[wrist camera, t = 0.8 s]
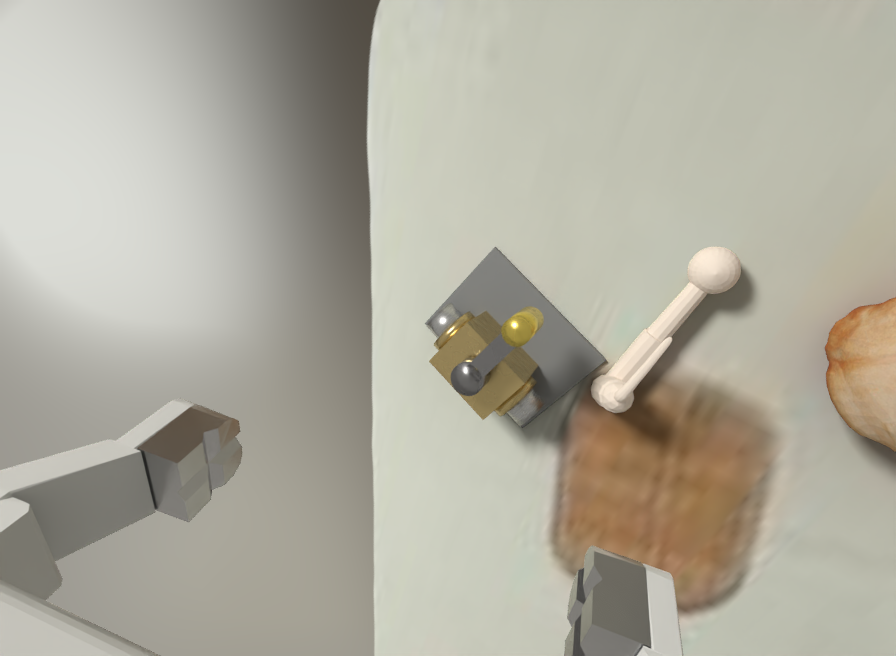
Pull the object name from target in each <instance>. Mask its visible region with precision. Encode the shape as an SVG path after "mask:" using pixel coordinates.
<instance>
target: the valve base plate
mask: <svg viewBox="0 0 896 656" xmlns="http://www.w3.org/2000/svg"><path fill="white" fill-rule="evenodd" d="M449 303H452V304H453V305H454V306H455V307H456V308H457V309H458V310H459V311H460V312H461V313H462V314H463V315H464V314H465V313H467V312H468V311H470V312H471V313H472V314H473V315H474V316H475V317H477V316H478V315H480V314H482V313H483V312H485V311H487V312H488V313H489V314H490V315H491V316H492V317H493V318H494V319H495V320H496V321H497V322H498V323H499V324H500V325H501V326H503V324H504V323H505V321H507V320H508V319H509V318H511V317H512V316H513V315H515V314H516V313H517V312H519V311H520V310H521V309H523V308H525V307H528V306H531V307H535V308H537V309H539V310H540V311H541V313H542V315H543V318H544V322H543V326H542V327H541V329H540V330H539V331H538V332H537V333H536V334H535V335H534V336H533V337H532V338H531V339H530V340H529V341H528V342H527V343H526V344H525V345H523V346H521V347H522V348H523V349H524V351H525V352H526V353H527V354H528V355H529V356H530V357H531V358H532V359H533V360H534V361H535V362H536V363H537V364H538V367H537V368H536V369H535V371H534V372H533V373H532V375H531V376H532V377H533V378H534V379H535V380H536V381H537V383H536V385H535V386H534V387H533V389H534V390H535V392H536V393H537V394H538V395H539V396H540V397H541V398H542V399H543V400H544V401H545V403H544V405H543V406H542V407H541V409H540V410H539V411H538V412H537V413H536V414H535V415H534V416H533V417H531V418H530V419H529V420H528V421H527V422H525V423H524V424H523V425H521V427H522V428H523V427H524V426H526V425H527V424H528V423H529V422H531V421H532V420H533V419H534V418H535V417H537V416H538V415H539V414H540V413H542V412H543V411H544V410H545V409H547V408H548V407H549V406H550V405H551V404H553V403H554V402H555V401H556V400H558V399H559V398H560V397H561V396H563V395H564V394H565V393H566V392H567V391H569V390H570V389H571V388H572V387H574V386H575V385H576V384H577V383H579V382H580V381H581V380H582V379H583V378H585V377H586V376H587V375H588V374H590V373H591V372H592V371H593V370H595V369H596V368H597V367H598V366H599V365H601V364H602V363H603V362H604V361H606V359H605V358H604V357H603V356H602V355H601V354H600V353H599V352H598V351H597V350H596V349H595V348H594V347H593V346H592V345H591V344H590V343H589V342H588V341H587V339H586V338H585V337H584V336H583V335H582V334H581V333H580V332H579V331H578V330H577V329H576V328H575V327H574V326H573V325H572V324H571V323H570V322H569V321H568V320H567V319H566V318H565V317H564V316H563V315H562V314H561V313H560V312H559V311H558V310H557V309H556V308H555V307H554V306H553V305H552V304H551V303H550V302H549V301H548V300H547V299H546V298H545V297H544V296H543V295H542V294H541V293H540V292H539V291H538V290H537V289H536V287H535V286H534V285H533V284H532V283H531V282H530V281H529V280H528V279H527V278H526V277H525V276H524V275H523V274H522V273H521V272H520V271H519V270H518V269H517V268H516V267H515V266H514V265H513V264H512V263H511V262H510V261H509V260H508V259H507V258H506V257H505V256H504V255H503V254H502V253H501V252H500V251H499V250H498V249H497V248H496V247H495V248H494V249H493V250H492V251H491V252H490V253H489V254H488V255H487V256H486V257H485V258H484V260H483V261H482V262H481V263H480V264H479V265H478V266H477V267H476V268H475V269H474V270H473V272H472V273H471V274H470V275H469V276H468V277H467V278H466V279H465V280H464V281H463V283H462V284H461V285H460V286H459V287H458V288H457V289H456V290H455V291H454V292H453V293H452V295H451V296H450V297H449V298H448V299H447V300H446V301H445V302H444V303H443V304H442V305H441V307H440V308H439V309H438V310H437V311H436V312H435V313H434V314H433V315H432V316H431V317H430V319H429V320H428V321H427V322H426V323H425V324H426V325H427V323H428V322H429V321H430V320H431V318H432V317H433V316H434V315H435V314H436V313H437V312H438V311H440V310H441V309H442V308H443V307H444V306H446V305H447V304H449Z"/></svg>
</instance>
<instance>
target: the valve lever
mask: <svg viewBox="0 0 896 656" xmlns="http://www.w3.org/2000/svg"><path fill="white" fill-rule="evenodd" d="M543 322H544V318H543V315H542V313H541V311H540V310H539V309H537V308H535V307H531V306H528V307H525V308H523V309H521V310H520V311H519V312H517V313H516V314H515V315H513V316H512V317H511V318H509V319H508V320H507V321H505V323H504V324H503V326H502V329H501V333H500V334H499V335H498V336H497V337H496V338H495V339H494V340H493V341H492V342H491V343H490V344H489V345H488V346H487V347H486V348H485V349H484V350H483V351H482V352H481V353H480V354H479V355H478V356H477V357H469V358H466V359H465V360H463V361H462V362H461V363H459V364H458V365H457V366H456V367H455V368H454V369H453V370H452V372H451V383H452V385H453V387H454V389H455V390H456V391H457V392H458V393H460V394H462V395H464V396H473V395H475V394H477V393H478V392H479V391H480V390H481V389H482V388H483V387H484V386H485V385H486V384H487V383H488V381H489V378H490V371H491V370H492V369H493V368H494V367H495V366H496V365H497V364H498V363H499V362H500V361H502V360H503V359H504V358H505V357H506V356H507V355H508V354H509V353H510V352H511V351H512V350H513V349H514V348H516V347H520V346H523V345H525V344H526V343H527V342H528V341H529V340H530V339H531V338H532V337H533V336H534V335H535V334H536V333H537V332H538V331H539V330H540V329H541V327H542V326H543Z"/></svg>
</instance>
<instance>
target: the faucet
mask: <svg viewBox="0 0 896 656" xmlns="http://www.w3.org/2000/svg"><path fill="white" fill-rule="evenodd" d="M740 274H741V264H740V260H739V259H738V257H737V256H736V254H734V253H733V252H732V251H731V250H728V249H726V248H723V247H708V248H704V249H702V250H700V251H699V252H697V253H696V254H695V255H694V257H693V258H692V259H691V261H690V263H689V266H688V278H689V281H690V282H689V283H688V285H687V286H686V287H685V288H684V289H683V290H682V291H681V292H680V294H679V295H678V296H677V297H676V298H675V299H674V300H673V301H672V302H671V304H670V305H669V306H668V307H667V308H666V309H665V310H664V311H663V313H662V314H661V315H660V316H659V317H658V318H657V319H656V320H655V322H654V323H653V324H652V325H651V326H650V327H649V328H648V329H647V328H645V329H644V330H643V331H642V332H641V334H640V335H639V336H638V337H637V338H636V340H635V341H634V342H633V343H632V344H631V346H630V347H629V348H628V349H627V350H626V351H625V353H624V354H623V355H622V356H621V357H620V359H619V360H618V361H617V362H616V363H615V365H614V366H613V367H612V368H611V369H610V371H609V372H608V373H607V374H605V375H600V376H599V377H597V378H596V379H595V380H594V381H593V384H592V386H591V393H592V397H593V398H594V399H595V401H596V402H597V403H598V404H599V405H600V406H602V407H604V408H605V409H606V410H608V411H611V412H613V413H620V412H625V411H626V410H627V409H629V408H630V407H631V405H632V403H633V400H634V394H633V390H634V389H635V388H636V387H637V385H638V384H639V383H640V382H641V380H642V379H643V378H644V377H645V376H646V374H647V373H648V372H649V371H650V369H651V368H652V367H653V366H654V364H655V363H656V362H657V361H658V359H659V358H660V357H661V356H662V354H663V353H664V352H665V351H666V349H667V348H668V347H669V345H670V344H671V342H672V338H671V337H672V336H673V334H674V333H675V332H676V331H677V330H678V328H679V327H680V326H681V325H682V324H683V322H684V321H685V320H686V319H687V318H688V316H689V315H690V314H691V313H692V312H693V311H694V309H695V308H696V307H697V306H698V305H699V303H700V302H701V301H702V300H703V299H704V297H705V296H706V295H707V294H708V293H709V294H718V293H722V292H725V291H727V290H729V289H730V288H732V287H733V286H734V285H735V284H736V282H737V281H738V280H739V277H740Z"/></svg>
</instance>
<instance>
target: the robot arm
mask: <svg viewBox="0 0 896 656" xmlns="http://www.w3.org/2000/svg"><path fill="white" fill-rule="evenodd" d="M239 432H240V426H239V421H238V420H236V419H233V418H231V417H228V416H226V415H223V414H221V413H218V412H216V411H213V410H210V409H208V408H205V407H203V406H200V405H197V404H194V403H192V402H189V401H187V400H184V399H181V398H179V399H175V400H172V401H170V402H169V403H168V404H166V405H165V406H164V407H162V408H161V409H159V410H158V411H157V412H155V413H154V414H152V415H151V416H150V417H148V418H147V419H146V420H144V421H143V422H141V423H140V424H138V425H137V426H136V427H134V428H133V429H132V430H130V431H129V432H127V433H126V434H125V435H123V436H122V437H120V438H119V439H118V440H116V441H114V440H111V439H108V440H105V441H101V442H98V443H94V444H92V445H87V446H84V447H80V448H77V449H73V450H70V451H67V452H63V453H59V454H56V455H52V456H49V457H45V458H42V459H38V460H35V461H31V462H28V463H24V464H21V465H17V466H14V467H10V468H7V469H4V470H0V656H160V655H158V654H156V653H154V652H152V651H150V650H147V649H146V648H143V647H141V646H139V645H137V644H135V643H133V642H131V641H129V640H127V639H125V638H122V637H120V636H118V635H116V634H114V633H112V632H110V631H108V630H106V629H104V628H102V627H100V626H98V625H95V624H93V623H91V622H89V621H87V620H85V619H83V618H81V617H79V616H77V615H75V614H73V613H70V612H68V611H66V610H64V609H62V608H60V607H58V606H56V605H54V604H51V603H50V602H47V601H45V600H46V599H47V598H49V596H51V595H52V594H53V593H54V592H55V591H56V590H57V589H58V588H59V587H60V586H61V584H62V576H61V574H60V572H59V570H58V568H57V565H56V563H55V561H57V560H59V559H61V558H63V557H65V556H67V555H69V554H71V553H73V552H75V551H77V550H79V549H81V548H83V547H85V546H87V545H90V544H91V543H94V542H96V541H98V540H100V539H102V538H104V537H106V536H108V535H110V534H112V533H114V532H116V531H118V530H120V529H122V528H124V527H126V526H128V525H130V524H133V523H135V522H137V521H139V520H140V519H143V518H145V517H147V516H149V515H151V514H153V513H155V510H157V511H160V512H163V513H165V514H168V515H171V516H173V517H176V518H179V519H181V520H184V521H187V522H190V521H191V520H192V518H194V517H195V515H196V514H197V513H198V512H199V511H200V510H201V509H202V508H203V507H204V506H205V505H206V504H207V503H208V502H209V501H210V500H211V495H212V490H213V489H215V488H218V487H221V486H223V485H225V484H226V483H227V482H228V481H229V480H230V478H231V477H233V476H234V474H235V472H236V470H237V468H238V467H239V465H240V462H241V457H242V446H241V444H240V443H239V441H238V440H237V438H236V437H235V436H236V435H237V434H238V433H239ZM567 618H568V620H569V622H570V624H571V626H572V628H571V630H570V632H569V634H568V636H567V638H566V640H565V652H564V656H683V650H682V642H681V634H680V627H679V619H678V612H677V604H676V596H675V589H674V581H673V578H672V576H671V574H670V573H668V572H666V571H663V570H660V569H657V568H654V567H652V566H649V565H646V564H642V563H641V562H639V561H636V560H633V559H630V558H627V557H624V556H621V555H618V554H615V553H612V552H610V551H607V550H604V549H601V548H598V547H595V546H591V547H590V548H589V549H588V551H587V553H586V555H585V562H584V568H582V569H580V570H578V572H577V574H576V577H575V579H574V582H573V585H572V589H571V593H570V598H569V605H568V615H567Z"/></svg>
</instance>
